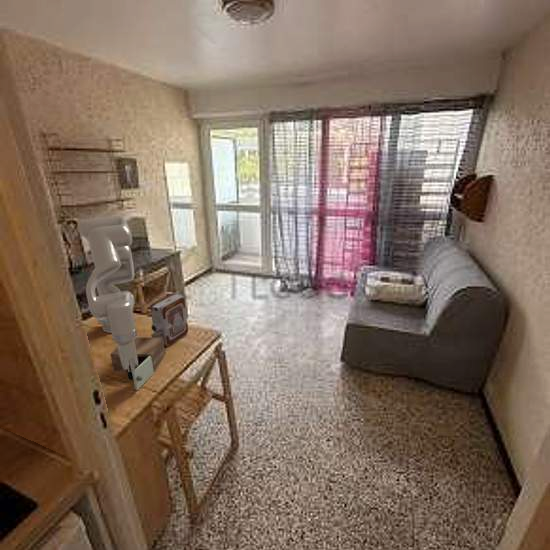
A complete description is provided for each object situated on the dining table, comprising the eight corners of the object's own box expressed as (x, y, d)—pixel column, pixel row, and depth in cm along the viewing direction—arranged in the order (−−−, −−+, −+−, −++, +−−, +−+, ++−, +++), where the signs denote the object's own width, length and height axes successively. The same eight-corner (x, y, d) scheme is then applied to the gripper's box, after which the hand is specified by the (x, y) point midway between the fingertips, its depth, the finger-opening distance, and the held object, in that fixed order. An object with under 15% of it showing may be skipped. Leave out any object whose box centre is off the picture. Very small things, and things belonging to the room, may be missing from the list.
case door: (140, 390, 117) (137, 373, 114) (135, 389, 117) (132, 372, 114) (156, 373, 126) (153, 356, 123) (152, 372, 126) (149, 356, 123)
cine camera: (144, 349, 142) (136, 307, 135) (176, 329, 158) (171, 291, 151) (159, 355, 138) (152, 312, 131) (191, 333, 154) (186, 294, 147)
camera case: (114, 371, 127) (110, 354, 125) (128, 353, 139) (124, 337, 136) (154, 371, 127) (151, 354, 124) (165, 354, 138) (162, 337, 135)
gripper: (109, 328, 117) (118, 370, 124) (116, 348, 105) (126, 394, 112) (131, 322, 121) (139, 363, 127) (141, 341, 109) (149, 385, 116)
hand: (133, 377), depth 120 cm, fingers closed
